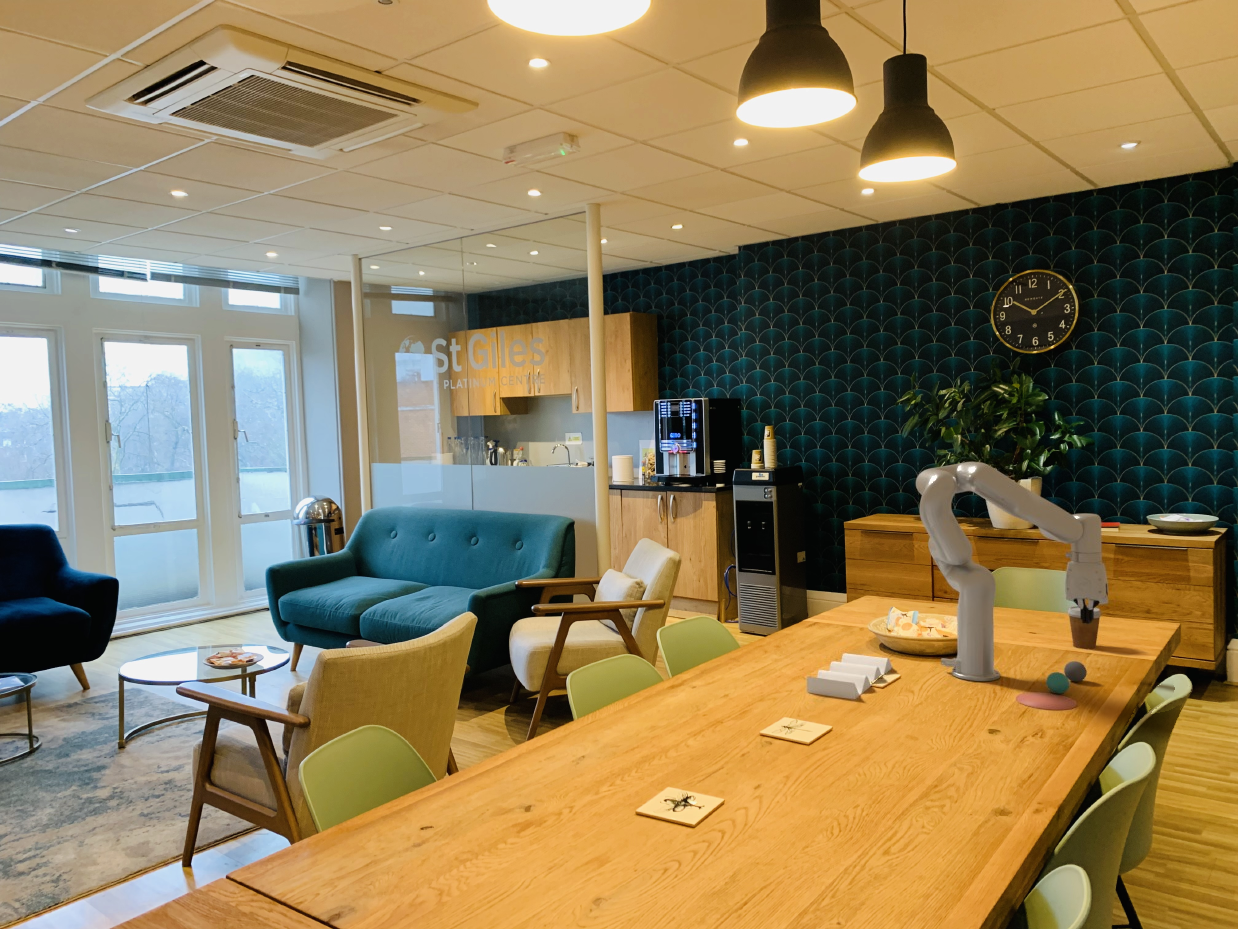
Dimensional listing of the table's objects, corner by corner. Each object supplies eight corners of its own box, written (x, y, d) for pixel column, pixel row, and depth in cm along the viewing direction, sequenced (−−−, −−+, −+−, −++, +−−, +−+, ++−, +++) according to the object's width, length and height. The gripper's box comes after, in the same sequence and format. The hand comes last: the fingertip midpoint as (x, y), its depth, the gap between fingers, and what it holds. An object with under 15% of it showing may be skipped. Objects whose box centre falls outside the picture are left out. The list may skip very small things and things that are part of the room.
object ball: (1046, 695, 233) (1046, 674, 233) (1045, 689, 238) (1045, 669, 238) (1070, 697, 231) (1070, 676, 230) (1069, 691, 236) (1068, 670, 235)
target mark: (1015, 706, 224) (1015, 705, 224) (1015, 691, 237) (1015, 690, 237) (1078, 712, 218) (1078, 712, 218) (1074, 696, 231) (1074, 695, 231)
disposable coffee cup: (1093, 642, 285) (1093, 605, 284) (1106, 650, 276) (1106, 611, 275) (1062, 642, 286) (1062, 605, 285) (1074, 650, 276) (1074, 612, 276)
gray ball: (1064, 683, 243) (1064, 663, 243) (1063, 677, 248) (1063, 658, 248) (1087, 685, 241) (1087, 665, 240) (1086, 679, 246) (1085, 659, 245)
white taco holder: (892, 670, 263) (892, 652, 263) (854, 702, 233) (854, 683, 233) (849, 664, 270) (848, 647, 270) (807, 695, 241) (806, 676, 240)
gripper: (1053, 557, 252) (1054, 621, 253) (1111, 561, 242) (1112, 628, 242) (1062, 554, 257) (1063, 617, 258) (1119, 558, 247) (1120, 623, 248)
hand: (1087, 622), depth 250 cm, fingers closed
